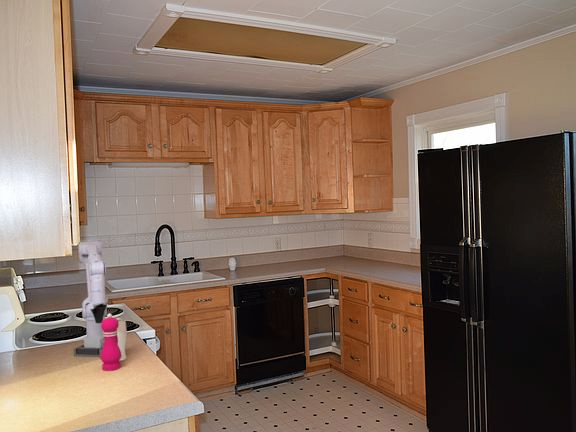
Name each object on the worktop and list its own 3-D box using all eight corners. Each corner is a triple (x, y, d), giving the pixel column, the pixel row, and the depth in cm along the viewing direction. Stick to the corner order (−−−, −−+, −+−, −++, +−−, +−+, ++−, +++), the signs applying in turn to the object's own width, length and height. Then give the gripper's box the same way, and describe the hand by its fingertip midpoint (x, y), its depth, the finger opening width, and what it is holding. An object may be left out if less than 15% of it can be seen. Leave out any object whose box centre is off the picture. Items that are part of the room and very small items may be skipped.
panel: (87, 350, 203) (87, 336, 203) (103, 350, 202) (103, 337, 202) (84, 351, 201) (83, 338, 201) (100, 352, 200) (100, 338, 200)
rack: (87, 349, 207) (86, 341, 207) (113, 350, 205) (113, 342, 205) (74, 356, 198) (73, 347, 198) (101, 357, 196) (101, 348, 196)
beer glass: (130, 356, 196) (129, 318, 195) (122, 362, 189) (121, 322, 188) (113, 356, 196) (111, 318, 196) (105, 362, 189) (103, 322, 189)
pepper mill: (115, 371, 178) (113, 315, 177) (96, 371, 179) (94, 315, 179) (125, 365, 185) (123, 311, 184) (107, 364, 186) (105, 311, 186)
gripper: (95, 287, 216) (97, 318, 216) (80, 293, 202) (81, 327, 202) (112, 287, 216) (113, 318, 216) (97, 293, 201) (98, 327, 202)
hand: (99, 322), depth 209 cm, fingers closed
